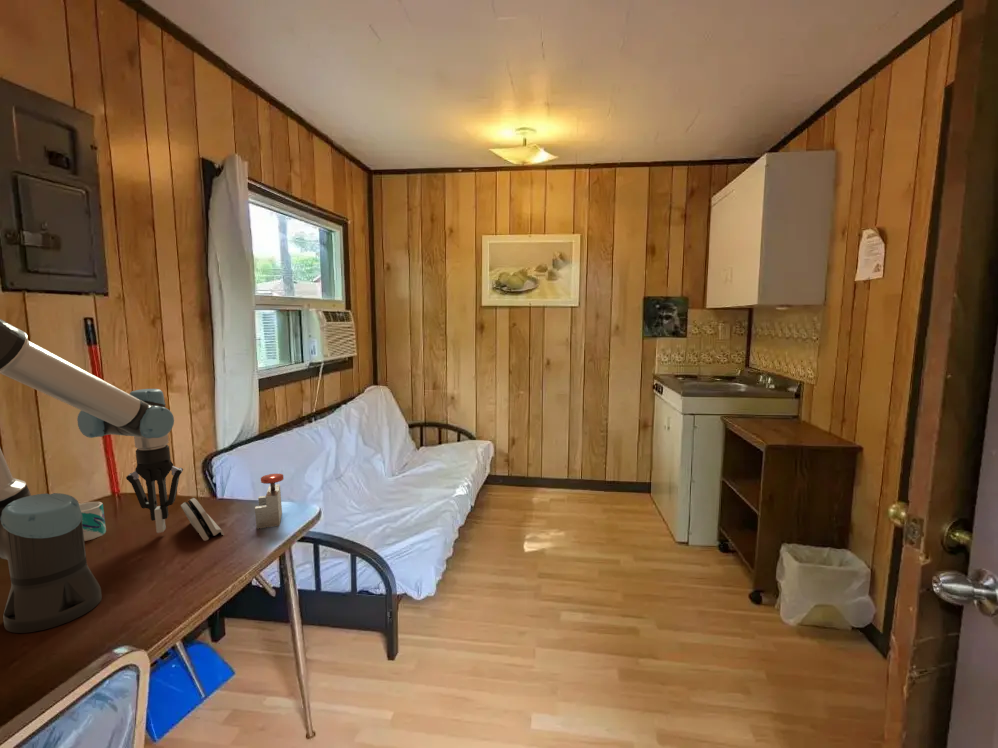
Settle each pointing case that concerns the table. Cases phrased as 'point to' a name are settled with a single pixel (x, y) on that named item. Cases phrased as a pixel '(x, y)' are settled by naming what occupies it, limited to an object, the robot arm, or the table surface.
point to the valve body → (269, 503)
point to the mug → (92, 520)
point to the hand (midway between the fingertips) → (161, 530)
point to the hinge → (200, 519)
